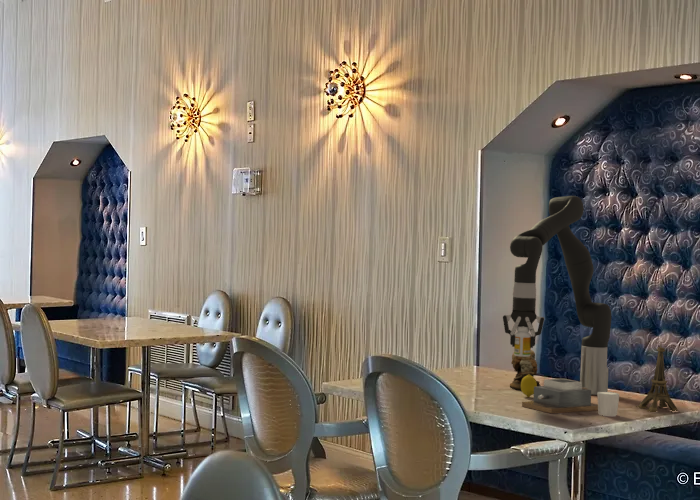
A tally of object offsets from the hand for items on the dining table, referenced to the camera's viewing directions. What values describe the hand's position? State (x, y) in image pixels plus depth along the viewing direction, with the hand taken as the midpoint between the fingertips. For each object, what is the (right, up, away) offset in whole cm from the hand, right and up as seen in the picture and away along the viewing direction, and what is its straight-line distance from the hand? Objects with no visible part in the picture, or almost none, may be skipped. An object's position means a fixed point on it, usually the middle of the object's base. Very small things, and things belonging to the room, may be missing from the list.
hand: (522, 346), depth 329 cm
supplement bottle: (0, -3, 0) cm, 3 cm away
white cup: (+25, -20, -14) cm, 35 cm away
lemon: (+5, -19, +17) cm, 26 cm away
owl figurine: (+8, -20, +39) cm, 44 cm away
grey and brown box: (+12, -20, -5) cm, 24 cm away
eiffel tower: (+45, -21, 0) cm, 50 cm away
